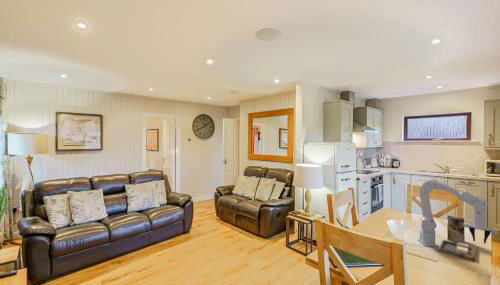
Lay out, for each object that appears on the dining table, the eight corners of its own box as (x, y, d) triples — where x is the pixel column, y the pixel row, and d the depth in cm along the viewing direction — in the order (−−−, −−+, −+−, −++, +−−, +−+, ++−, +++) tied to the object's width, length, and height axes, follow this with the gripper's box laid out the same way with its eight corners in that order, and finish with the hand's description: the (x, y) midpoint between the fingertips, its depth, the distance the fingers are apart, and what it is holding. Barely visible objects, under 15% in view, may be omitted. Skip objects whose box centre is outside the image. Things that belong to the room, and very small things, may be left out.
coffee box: (464, 240, 168) (465, 218, 167) (464, 243, 163) (464, 220, 163) (447, 237, 174) (448, 215, 174) (447, 240, 169) (447, 217, 169)
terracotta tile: (457, 247, 154) (457, 244, 154) (458, 244, 157) (458, 242, 157) (468, 249, 150) (468, 246, 150) (468, 247, 154) (468, 244, 154)
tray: (439, 251, 152) (439, 248, 152) (442, 242, 165) (442, 239, 165) (454, 255, 147) (454, 252, 147) (456, 246, 160) (456, 243, 160)
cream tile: (456, 251, 148) (456, 248, 148) (457, 248, 152) (457, 246, 152) (467, 254, 145) (467, 251, 145) (468, 251, 148) (468, 248, 148)
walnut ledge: (454, 256, 146) (454, 252, 146) (456, 245, 161) (456, 242, 161) (474, 261, 140) (474, 258, 140) (475, 249, 154) (475, 246, 154)
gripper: (463, 217, 145) (462, 240, 145) (497, 224, 134) (497, 247, 135) (463, 215, 150) (463, 236, 150) (497, 220, 139) (496, 243, 140)
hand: (479, 241), depth 143 cm, fingers open, 4 cm apart
